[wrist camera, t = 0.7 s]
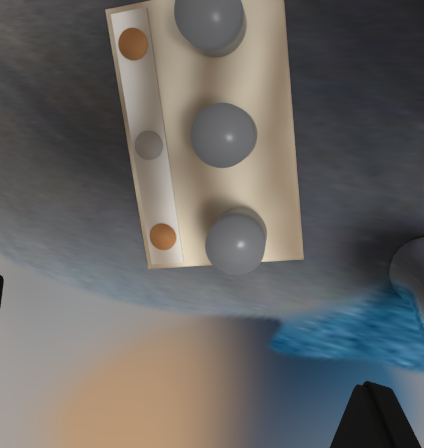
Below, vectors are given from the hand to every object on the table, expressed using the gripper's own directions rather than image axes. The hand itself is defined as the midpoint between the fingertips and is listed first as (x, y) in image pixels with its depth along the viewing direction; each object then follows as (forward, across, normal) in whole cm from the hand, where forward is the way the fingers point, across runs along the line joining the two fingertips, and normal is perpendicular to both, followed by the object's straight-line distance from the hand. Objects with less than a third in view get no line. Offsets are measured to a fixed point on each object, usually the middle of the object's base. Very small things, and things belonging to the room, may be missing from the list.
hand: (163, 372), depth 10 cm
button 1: (+23, +5, -13) cm, 27 cm away
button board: (+25, +4, -5) cm, 26 cm away
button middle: (+23, +2, -6) cm, 23 cm away
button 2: (+23, -1, +2) cm, 23 cm away
